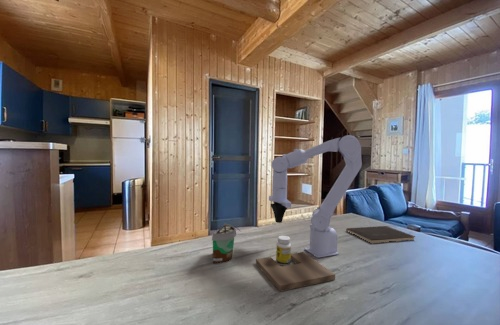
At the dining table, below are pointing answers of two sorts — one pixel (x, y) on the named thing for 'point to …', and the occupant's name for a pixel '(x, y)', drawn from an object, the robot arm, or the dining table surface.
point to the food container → (223, 244)
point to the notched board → (295, 272)
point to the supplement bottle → (283, 251)
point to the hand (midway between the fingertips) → (278, 222)
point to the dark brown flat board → (380, 234)
